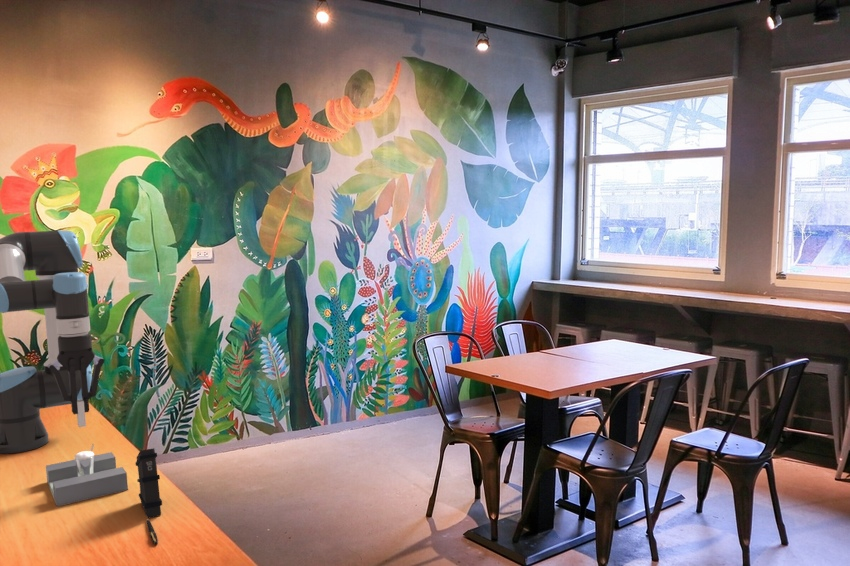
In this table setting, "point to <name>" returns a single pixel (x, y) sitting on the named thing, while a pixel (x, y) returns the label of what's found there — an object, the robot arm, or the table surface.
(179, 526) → the table surface
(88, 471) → the milkshake
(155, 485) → the black ribbed column
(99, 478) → the frame
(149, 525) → the fountain pen
